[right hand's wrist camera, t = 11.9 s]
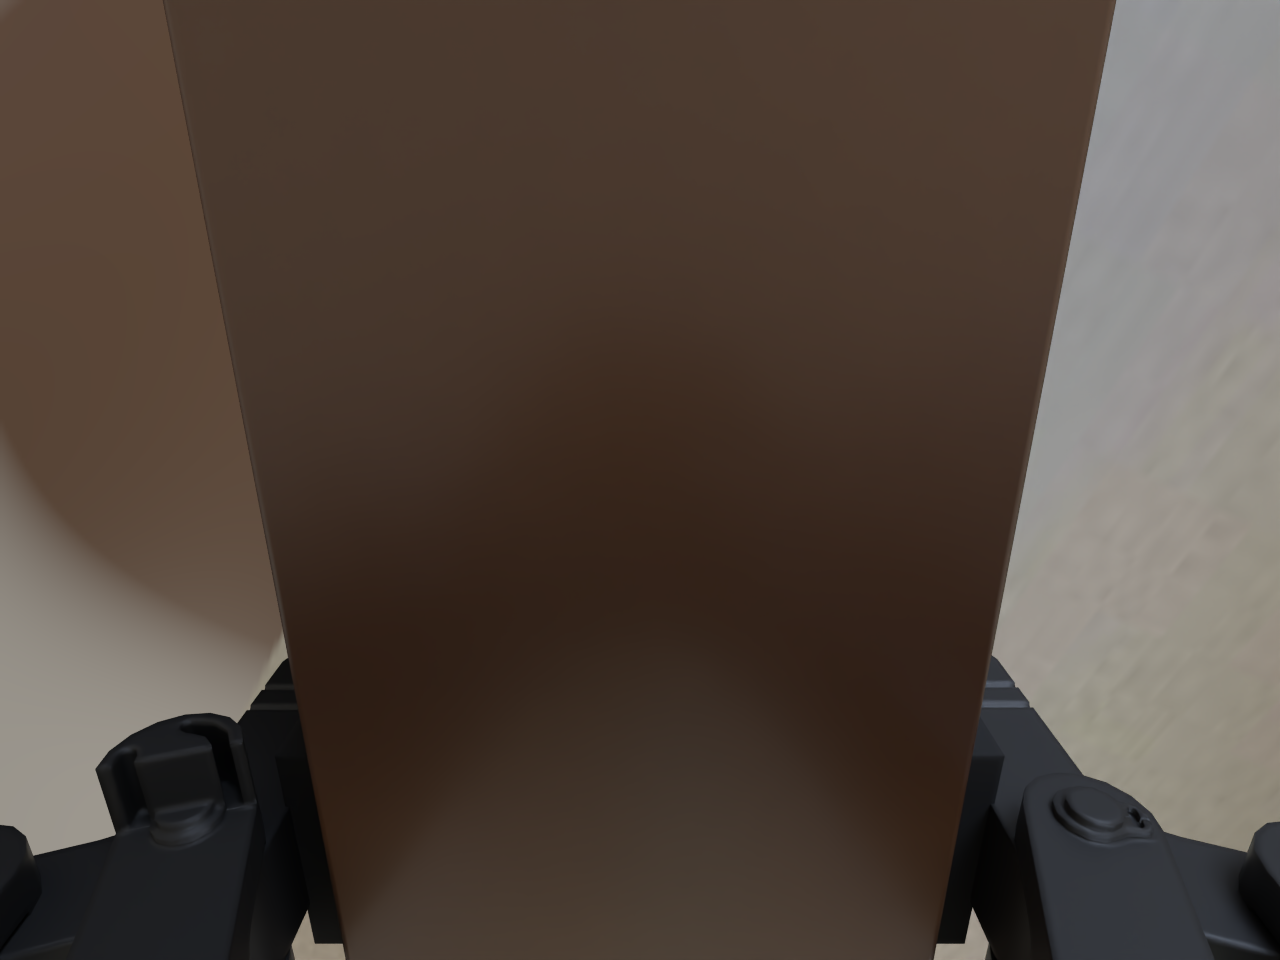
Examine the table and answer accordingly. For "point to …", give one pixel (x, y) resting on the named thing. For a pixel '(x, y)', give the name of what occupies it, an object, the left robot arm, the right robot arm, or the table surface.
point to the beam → (639, 441)
